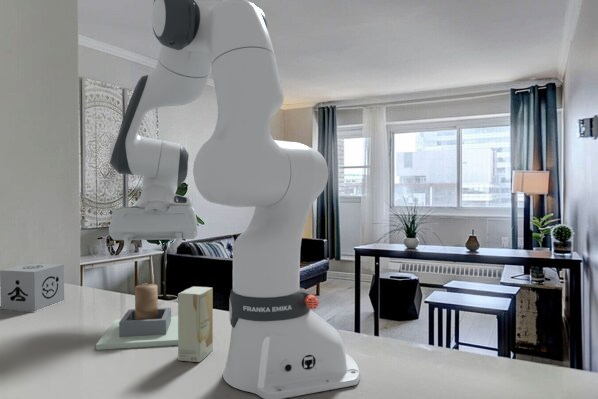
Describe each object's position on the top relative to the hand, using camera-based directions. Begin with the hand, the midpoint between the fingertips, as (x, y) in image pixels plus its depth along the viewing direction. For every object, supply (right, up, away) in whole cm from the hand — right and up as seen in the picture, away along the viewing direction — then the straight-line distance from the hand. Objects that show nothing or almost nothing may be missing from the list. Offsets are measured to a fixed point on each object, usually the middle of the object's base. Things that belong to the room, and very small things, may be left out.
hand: (151, 251), depth 101 cm
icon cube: (-35, -16, +13) cm, 40 cm away
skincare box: (+15, -17, -20) cm, 30 cm away
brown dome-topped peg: (+2, -15, -8) cm, 17 cm away
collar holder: (+2, -16, -8) cm, 18 cm away
